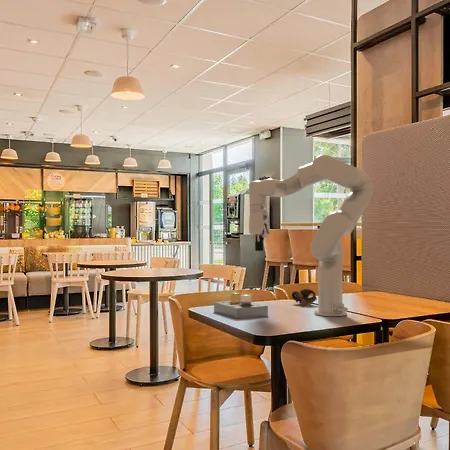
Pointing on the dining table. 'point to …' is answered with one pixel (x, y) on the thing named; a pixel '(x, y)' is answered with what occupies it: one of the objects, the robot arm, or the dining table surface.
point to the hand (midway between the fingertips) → (259, 250)
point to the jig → (241, 308)
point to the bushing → (235, 298)
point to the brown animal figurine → (304, 296)
